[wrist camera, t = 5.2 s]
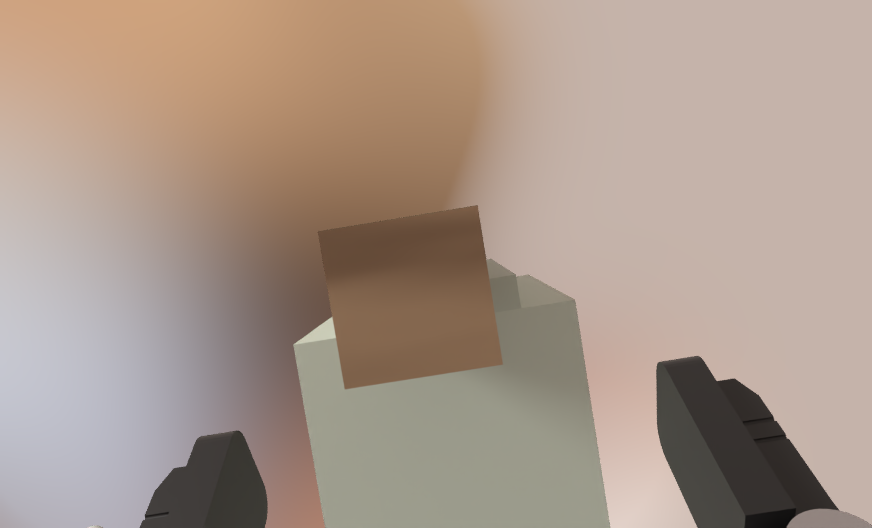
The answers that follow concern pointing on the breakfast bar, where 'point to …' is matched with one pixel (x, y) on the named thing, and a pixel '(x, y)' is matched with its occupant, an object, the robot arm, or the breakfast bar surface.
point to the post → (463, 429)
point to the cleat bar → (410, 297)
